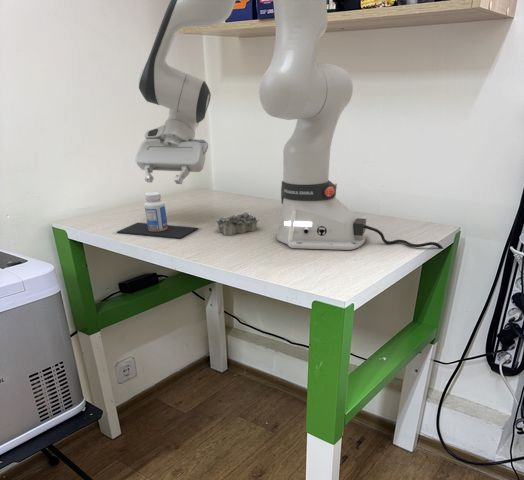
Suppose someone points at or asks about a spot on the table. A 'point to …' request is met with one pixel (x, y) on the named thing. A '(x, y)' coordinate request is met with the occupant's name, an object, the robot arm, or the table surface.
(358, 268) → the table surface
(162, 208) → the pill bottle
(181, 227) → the mat
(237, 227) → the egg carton
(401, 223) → the table surface
